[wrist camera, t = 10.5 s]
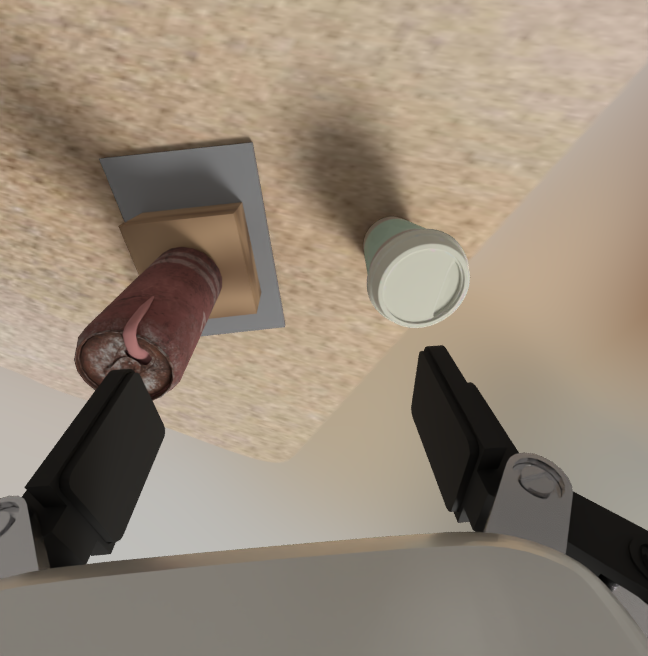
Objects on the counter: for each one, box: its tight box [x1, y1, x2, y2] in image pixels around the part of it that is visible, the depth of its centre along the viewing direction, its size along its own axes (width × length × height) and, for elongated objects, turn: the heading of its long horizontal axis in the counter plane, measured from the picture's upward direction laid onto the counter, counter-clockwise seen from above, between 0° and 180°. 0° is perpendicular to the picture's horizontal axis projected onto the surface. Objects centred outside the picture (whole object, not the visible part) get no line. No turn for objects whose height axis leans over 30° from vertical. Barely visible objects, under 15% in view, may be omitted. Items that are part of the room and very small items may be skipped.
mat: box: [99, 142, 285, 336], centre depth 35 cm, size 20×14×1 cm
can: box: [74, 247, 222, 401], centre depth 25 cm, size 6×6×14 cm
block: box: [119, 202, 261, 319], centre depth 33 cm, size 10×10×5 cm
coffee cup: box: [363, 217, 470, 328], centre depth 31 cm, size 8×9×12 cm
